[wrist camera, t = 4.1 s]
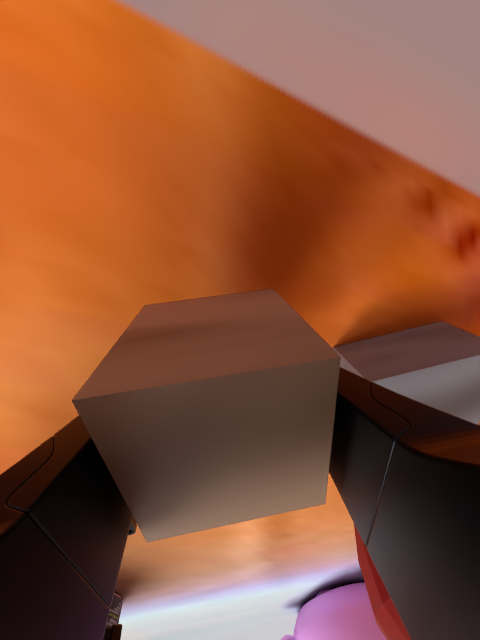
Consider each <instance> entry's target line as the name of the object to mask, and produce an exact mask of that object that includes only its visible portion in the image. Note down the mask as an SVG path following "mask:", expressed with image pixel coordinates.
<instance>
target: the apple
mask: <svg viewBox="0 0 480 640" xmlns="http://www.w3.org/2000/svg"><path fill="white" fill-rule="evenodd" d="M354 527H355V536H356V544H357V553H358V561H359V564H360V568H361V571H362V575H363V578H364V582H365V585H366V589H367V593H368V596H369V600H370V603H371V607H372V610H373V614H374V617H375V621H376V624H377V625H378V627H379V628H380V630H381V631H382V633H383V635H384V636H385V638H386V639H387V640H411V638H410V636H409V634H408V632H407V630H406V628H405V626H404V624H403V622H402V619H401V617H400V615H399V613H398V611H397V609H396V607H395V605H394V603H393V601H392V599H391V597H390V595H389V593H388V591H387V589H386V587H385V585H384V583H383V581H382V579H381V577H380V575H379V573H378V571H377V569H376V567H375V565H374V563H373V561H372V559H371V557H370V554H369V552H368V550H367V546H365V544H364V542H363V540H362V538H361V536H360V534H359V532H358V530H357V528H356V526H355V524H354Z"/></svg>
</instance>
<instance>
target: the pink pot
mask: <svg viewBox="0 0 480 640" xmlns="http://www.w3.org/2000/svg"><path fill="white" fill-rule="evenodd" d="M316 596H317V597H315V598H313V599H312V600H310V601H309V602H308V603H306V604H305V605H304V606H303V607H302V608H301V609H300V611H299V613H298V617H297V620H296V624H295V629H294V634H293V637H292V636H291V635H286V636H284V637H283V638H282V639H281V640H387V639H386V638H385V636H384V635H383V633H382V631H381V630H380V628H379V627H378V625H377V624H376V621H375V617H374V614H373V610H372V607H371V603H370V600H369V596H368V593H367V589H366V585H365V582H364V583H355V584H350V585H346V586H342V587H338V588H335V589H333V590H331V589H327V590H323V591H321V592H319V593H318V594H317V595H316Z"/></svg>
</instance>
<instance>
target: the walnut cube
mask: <svg viewBox="0 0 480 640" xmlns="http://www.w3.org/2000/svg"><path fill="white" fill-rule="evenodd" d="M340 360H341V357H340V356H339V355H338V354H337V353H336V352H335V351H334V350H333V349H332V348H331V347H330V346H329V344H328V343H327V342H326V341H325V340H324V339H323V338H322V337H321V336H320V335H319V334H318V333H317V332H316V331H315V330H314V329H313V328H312V327H311V326H310V325H309V324H308V323H307V322H306V321H305V320H304V319H303V318H302V317H301V316H300V315H299V314H298V313H297V312H296V311H295V310H294V309H293V308H292V307H291V306H290V305H289V304H288V303H287V302H286V301H285V300H284V299H283V298H282V297H281V296H280V295H279V294H278V293H277V292H276V291H275V290H274V289H265V290H257V291H250V292H242V293H235V294H227V295H220V296H212V297H204V298H197V299H189V300H182V301H174V302H166V303H159V304H151V305H145V306H144V307H143V308H142V310H141V311H140V312H139V313H138V315H137V316H136V317H135V319H134V320H133V321H132V323H131V324H130V325H129V326H128V328H127V329H126V330H125V332H124V333H123V334H122V336H121V337H120V338H119V340H118V341H117V342H116V343H115V345H114V346H113V347H112V349H111V350H110V351H109V353H108V354H107V355H106V356H105V358H104V359H103V360H102V362H101V363H100V364H99V366H98V367H97V368H96V369H95V371H94V372H93V373H92V375H91V376H90V377H89V379H88V380H87V381H86V382H85V384H84V385H83V386H82V388H81V389H80V390H79V392H78V393H77V394H76V395H75V397H74V398H73V399H72V402H73V404H74V406H75V407H76V409H77V411H78V413H79V415H80V417H81V419H82V421H83V423H84V424H85V426H86V428H87V430H88V432H89V434H90V436H91V438H92V440H93V441H94V443H95V445H96V447H97V449H98V451H99V453H100V455H101V457H102V458H103V460H104V462H105V464H106V466H107V468H108V470H109V472H110V474H111V475H112V477H113V479H114V481H115V483H116V485H117V487H118V489H119V491H120V492H121V494H122V496H123V498H124V500H125V502H126V504H127V506H128V508H129V509H130V511H131V513H132V515H133V517H134V519H135V521H136V523H137V525H138V526H139V528H140V530H141V532H142V534H143V536H144V538H145V540H146V542H151V541H155V540H160V539H165V538H169V537H174V536H179V535H183V534H188V533H192V532H197V531H202V530H206V529H211V528H216V527H220V526H225V525H230V524H234V523H239V522H243V521H248V520H253V519H257V518H262V517H267V516H271V515H276V514H281V513H285V512H290V511H295V510H299V509H304V508H308V507H313V506H318V505H322V504H325V502H326V493H327V483H328V474H329V464H330V455H331V445H332V436H333V426H334V417H335V408H336V398H337V389H338V379H339V370H340Z"/></svg>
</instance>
